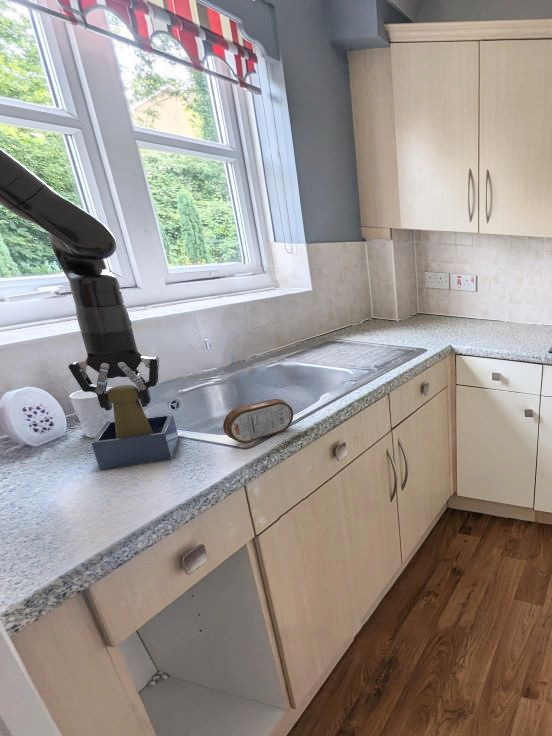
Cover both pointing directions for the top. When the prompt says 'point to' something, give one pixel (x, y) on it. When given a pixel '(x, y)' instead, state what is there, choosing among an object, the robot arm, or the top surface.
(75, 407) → the white cup
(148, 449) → the holder
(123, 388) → the cork
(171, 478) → the top surface
